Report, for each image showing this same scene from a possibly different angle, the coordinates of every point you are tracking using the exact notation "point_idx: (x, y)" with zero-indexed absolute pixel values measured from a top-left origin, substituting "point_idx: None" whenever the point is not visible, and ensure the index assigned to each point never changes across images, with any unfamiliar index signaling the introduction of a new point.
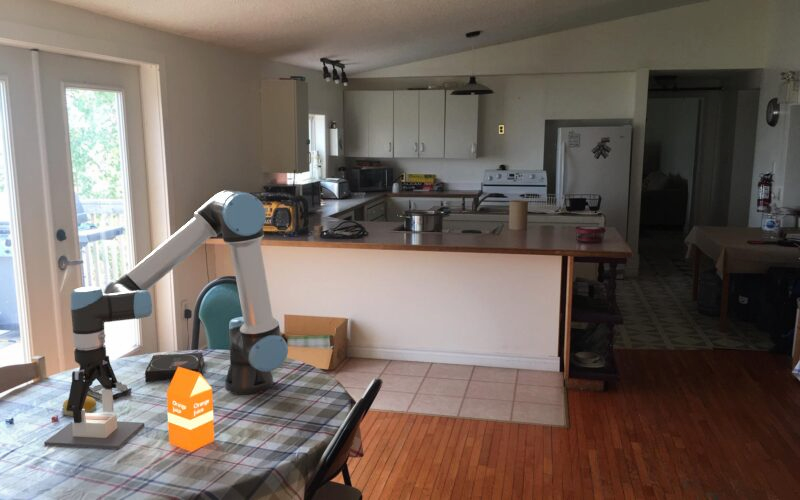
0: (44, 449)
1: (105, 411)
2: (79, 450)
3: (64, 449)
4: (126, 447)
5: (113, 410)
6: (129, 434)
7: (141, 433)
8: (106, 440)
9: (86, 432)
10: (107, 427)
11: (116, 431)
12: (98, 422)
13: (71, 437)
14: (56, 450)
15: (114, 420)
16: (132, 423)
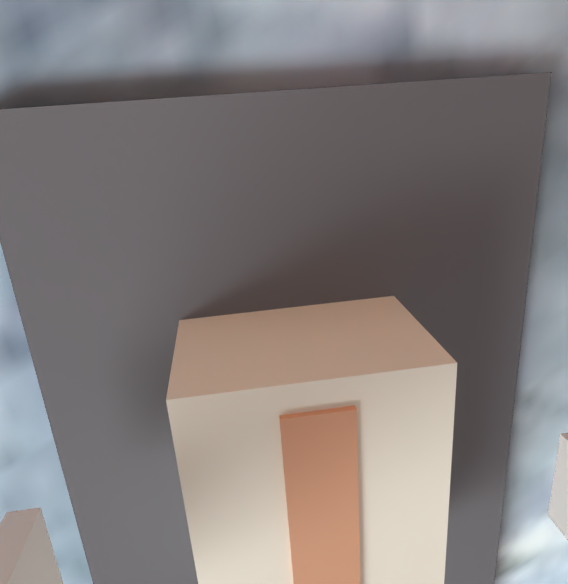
0: (533, 573)
1: (57, 574)
2: (550, 375)
3: (534, 474)
4: (499, 8)
5: (5, 519)
6: (292, 106)
7: (174, 24)
8: (443, 257)
9: (561, 435)
10: (379, 336)
11: (254, 280)
12: (432, 445)
13: None
14: (547, 507)
15: (222, 362)
16: (32, 234)
